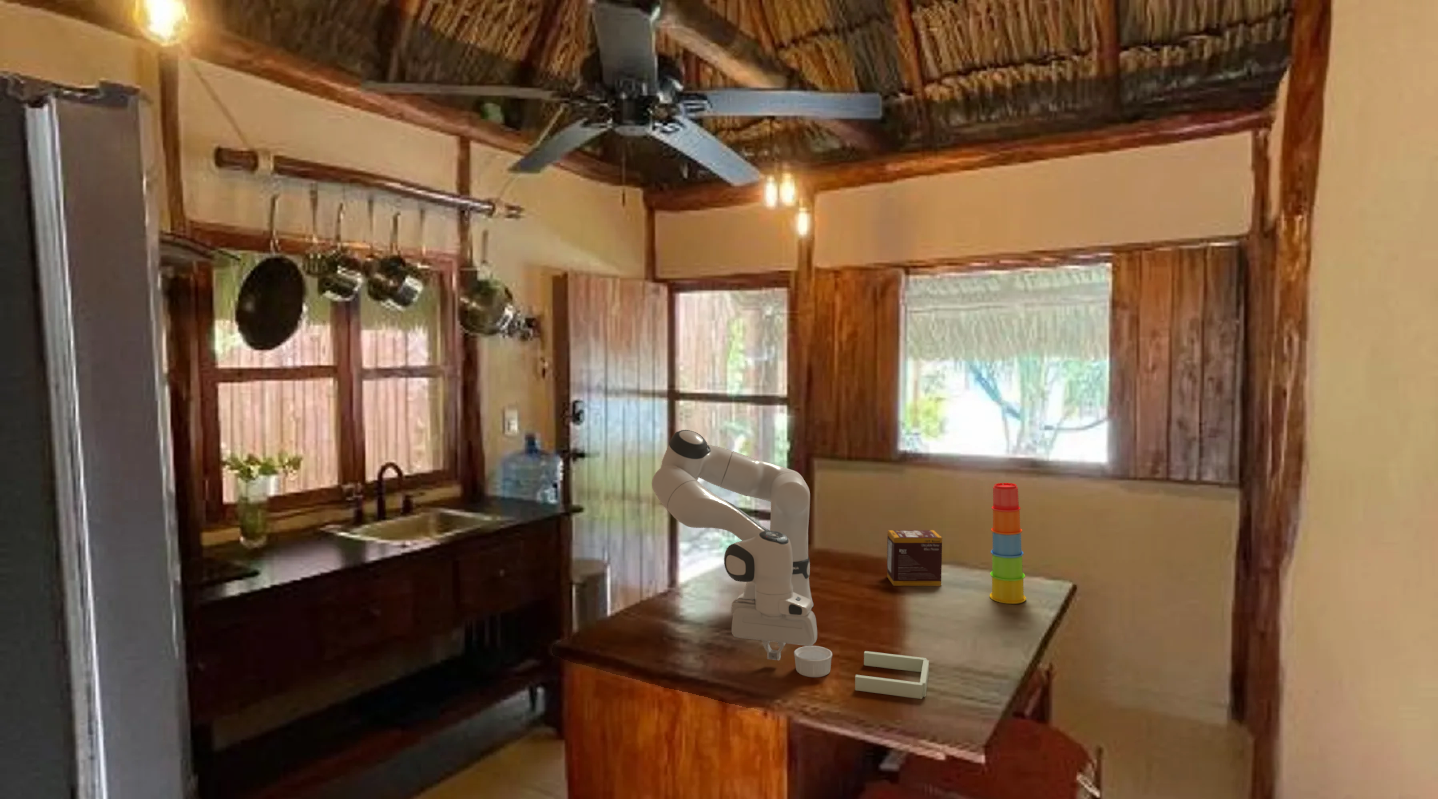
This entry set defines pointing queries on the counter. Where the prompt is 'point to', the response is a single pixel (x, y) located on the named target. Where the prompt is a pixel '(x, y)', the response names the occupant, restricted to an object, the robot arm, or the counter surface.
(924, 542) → the supplement box
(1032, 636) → the counter surface
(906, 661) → the tray frame
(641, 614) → the counter surface
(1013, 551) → the stacking cups
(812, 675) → the ramekin
